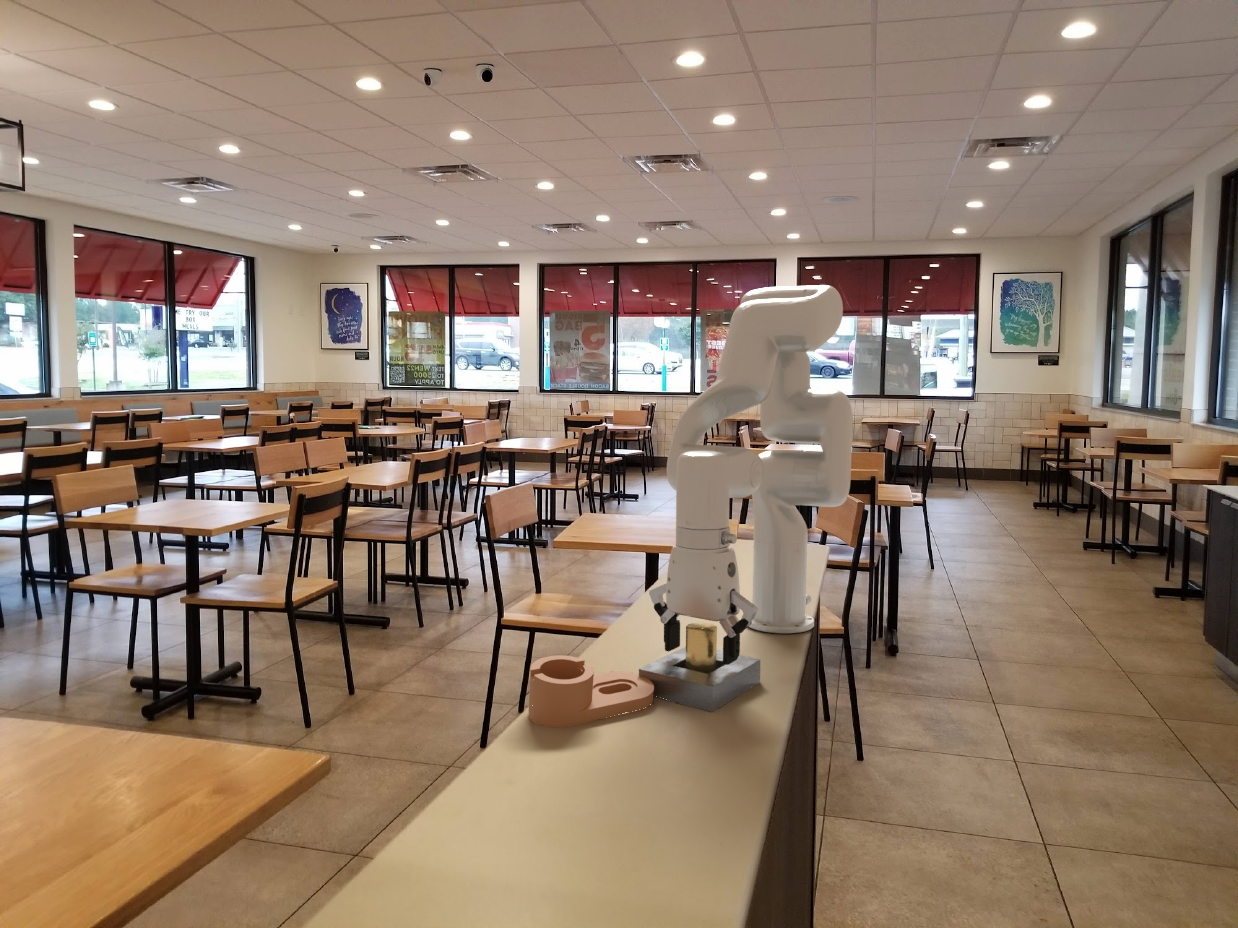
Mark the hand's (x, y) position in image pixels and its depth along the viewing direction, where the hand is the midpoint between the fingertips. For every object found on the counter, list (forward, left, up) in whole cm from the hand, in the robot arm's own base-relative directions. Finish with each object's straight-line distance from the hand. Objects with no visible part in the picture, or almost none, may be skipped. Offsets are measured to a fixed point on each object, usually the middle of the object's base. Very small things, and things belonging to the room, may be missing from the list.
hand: (700, 655), depth 126 cm
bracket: (+15, -8, -5) cm, 18 cm away
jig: (0, 0, -5) cm, 5 cm away
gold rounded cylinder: (0, 0, -5) cm, 5 cm away
